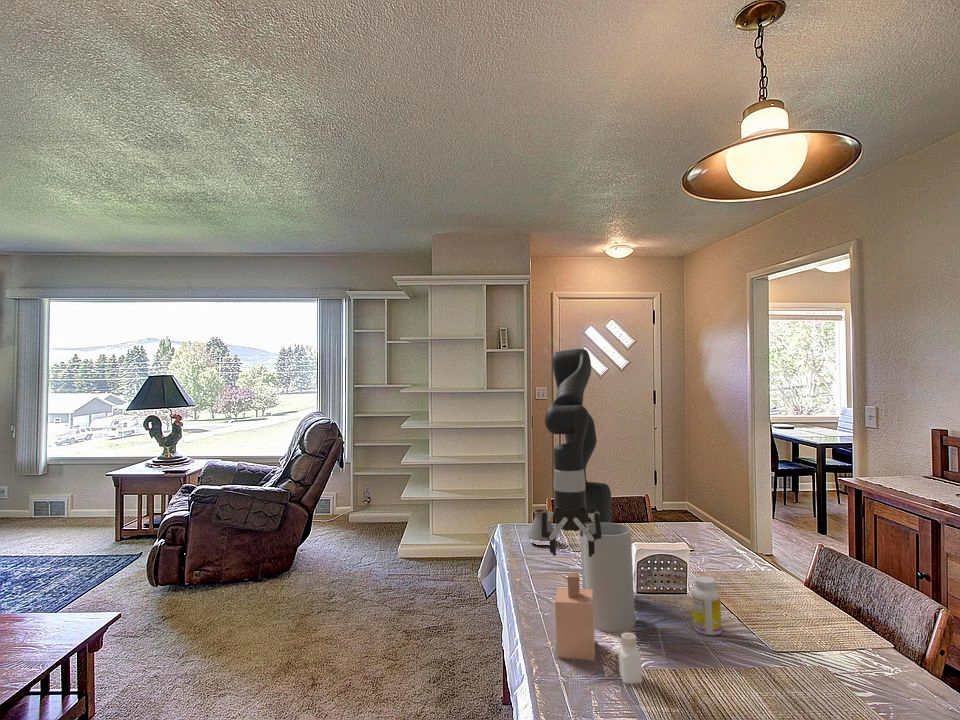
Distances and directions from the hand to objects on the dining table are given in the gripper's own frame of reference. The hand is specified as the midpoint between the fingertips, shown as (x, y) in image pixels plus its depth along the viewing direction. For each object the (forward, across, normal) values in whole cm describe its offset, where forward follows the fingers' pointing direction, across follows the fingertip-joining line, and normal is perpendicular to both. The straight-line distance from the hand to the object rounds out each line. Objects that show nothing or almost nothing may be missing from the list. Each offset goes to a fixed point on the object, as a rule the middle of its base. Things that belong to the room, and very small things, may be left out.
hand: (572, 555), depth 128 cm
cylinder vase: (+23, -9, -16) cm, 30 cm away
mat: (+23, 0, 0) cm, 23 cm away
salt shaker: (+23, -12, +10) cm, 28 cm away
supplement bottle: (+23, -33, -16) cm, 43 cm away
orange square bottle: (+22, 0, 0) cm, 22 cm away
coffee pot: (+23, +12, -87) cm, 91 cm away
